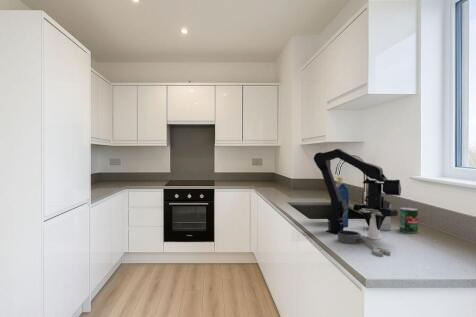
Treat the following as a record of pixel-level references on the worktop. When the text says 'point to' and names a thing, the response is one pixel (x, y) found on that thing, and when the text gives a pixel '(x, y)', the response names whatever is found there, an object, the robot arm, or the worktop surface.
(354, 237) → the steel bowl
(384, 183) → the robot arm
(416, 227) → the canned tomato
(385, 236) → the worktop surface
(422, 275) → the worktop surface
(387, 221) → the supplement box
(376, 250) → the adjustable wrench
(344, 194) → the blue cleaner bottle
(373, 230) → the salt shaker
